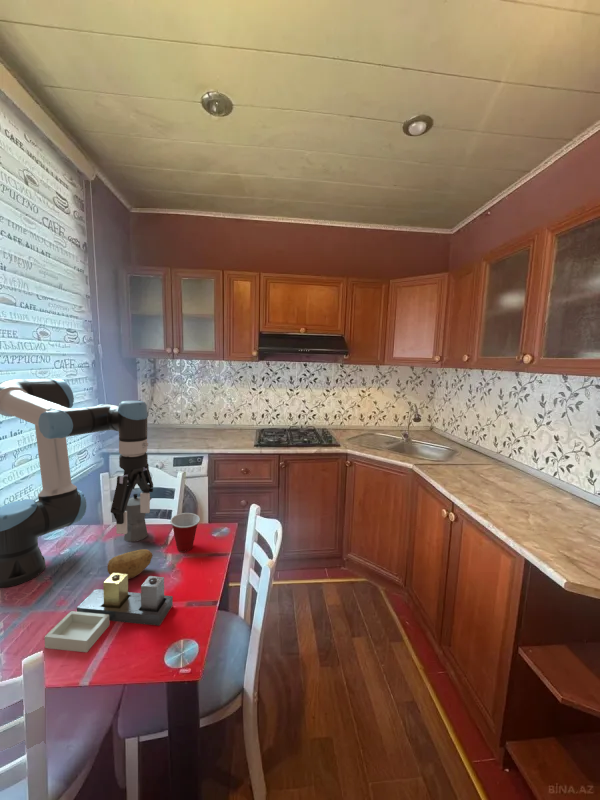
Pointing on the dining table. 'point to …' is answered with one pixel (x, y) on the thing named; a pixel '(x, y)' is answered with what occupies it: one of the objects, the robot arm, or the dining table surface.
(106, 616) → the parts tray
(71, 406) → the robot arm
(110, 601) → the block with metal knob
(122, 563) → the potato
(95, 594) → the rail
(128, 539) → the coffeepot
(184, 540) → the plastic cup
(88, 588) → the dining table surface
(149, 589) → the square rod with stud
